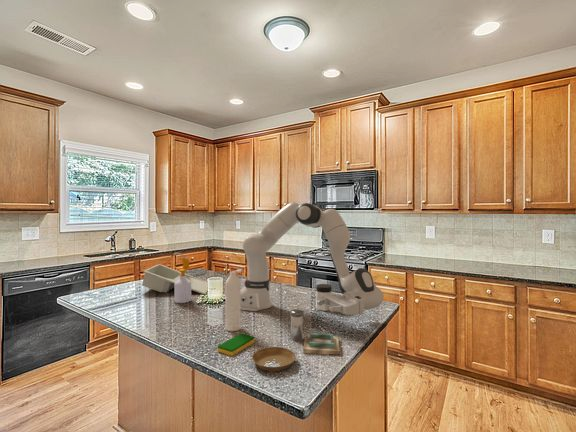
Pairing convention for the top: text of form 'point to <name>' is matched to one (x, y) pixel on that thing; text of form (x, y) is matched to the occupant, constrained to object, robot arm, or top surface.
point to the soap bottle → (183, 285)
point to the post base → (321, 344)
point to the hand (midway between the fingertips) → (323, 305)
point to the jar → (320, 291)
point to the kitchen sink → (170, 279)
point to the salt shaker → (296, 324)
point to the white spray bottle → (233, 302)
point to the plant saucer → (273, 353)
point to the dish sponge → (236, 344)
